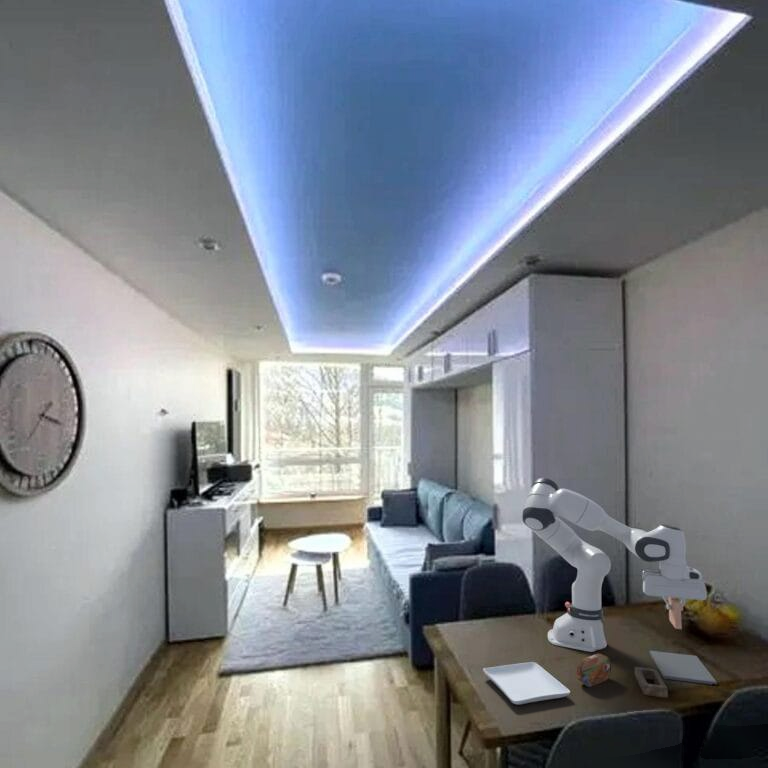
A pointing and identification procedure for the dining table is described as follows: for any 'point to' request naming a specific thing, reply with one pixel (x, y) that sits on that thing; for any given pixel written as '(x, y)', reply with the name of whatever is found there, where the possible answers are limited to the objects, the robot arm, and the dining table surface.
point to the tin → (594, 669)
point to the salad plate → (526, 682)
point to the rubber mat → (682, 667)
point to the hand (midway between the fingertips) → (674, 609)
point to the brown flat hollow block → (651, 689)
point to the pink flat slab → (675, 613)
